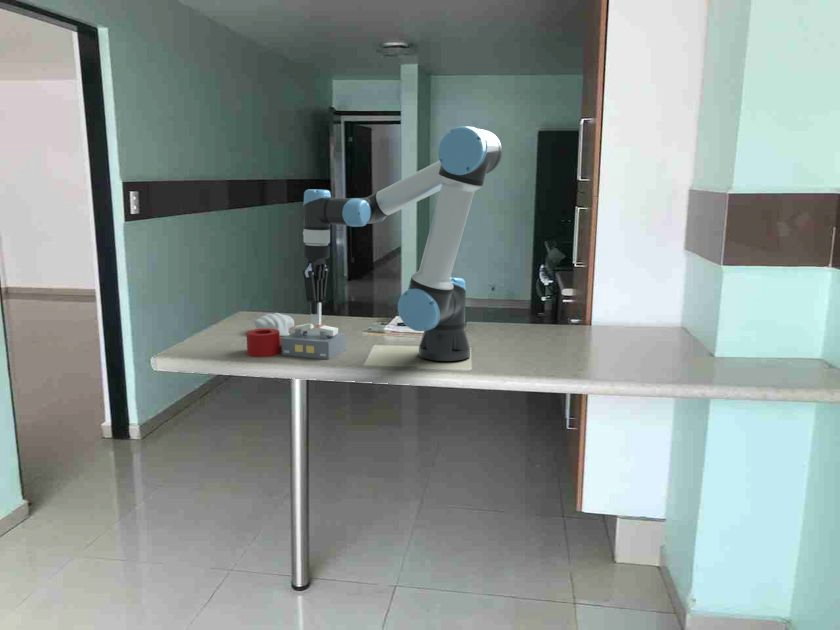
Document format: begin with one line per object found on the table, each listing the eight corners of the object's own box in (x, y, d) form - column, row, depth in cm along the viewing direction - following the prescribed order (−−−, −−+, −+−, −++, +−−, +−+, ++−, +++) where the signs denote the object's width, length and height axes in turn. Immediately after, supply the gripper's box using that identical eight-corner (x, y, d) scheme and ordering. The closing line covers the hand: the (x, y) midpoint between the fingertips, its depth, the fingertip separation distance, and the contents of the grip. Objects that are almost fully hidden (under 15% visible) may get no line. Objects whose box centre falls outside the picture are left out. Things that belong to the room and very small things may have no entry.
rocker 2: (337, 333, 199) (338, 327, 198) (332, 335, 195) (333, 330, 195) (319, 329, 200) (319, 324, 200) (314, 332, 197) (314, 326, 197)
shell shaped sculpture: (259, 330, 230) (258, 311, 229) (296, 329, 231) (296, 311, 229) (252, 338, 217) (251, 319, 216) (291, 338, 218) (291, 318, 217)
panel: (345, 349, 204) (345, 326, 202) (328, 359, 192) (327, 334, 191) (301, 345, 208) (300, 322, 207) (281, 355, 197) (280, 331, 195)
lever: (268, 359, 193) (267, 336, 191) (240, 356, 196) (239, 333, 195) (301, 345, 209) (300, 324, 208) (274, 342, 212) (274, 322, 211)
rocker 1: (313, 327, 201) (312, 322, 201) (308, 330, 197) (306, 324, 197) (296, 331, 203) (295, 325, 203) (290, 333, 199) (289, 328, 199)
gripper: (314, 241, 201) (314, 318, 206) (293, 245, 189) (293, 327, 193) (338, 243, 199) (336, 321, 203) (318, 247, 186) (317, 330, 191)
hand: (315, 324), depth 198 cm, fingers closed, pressing on rocker 2
